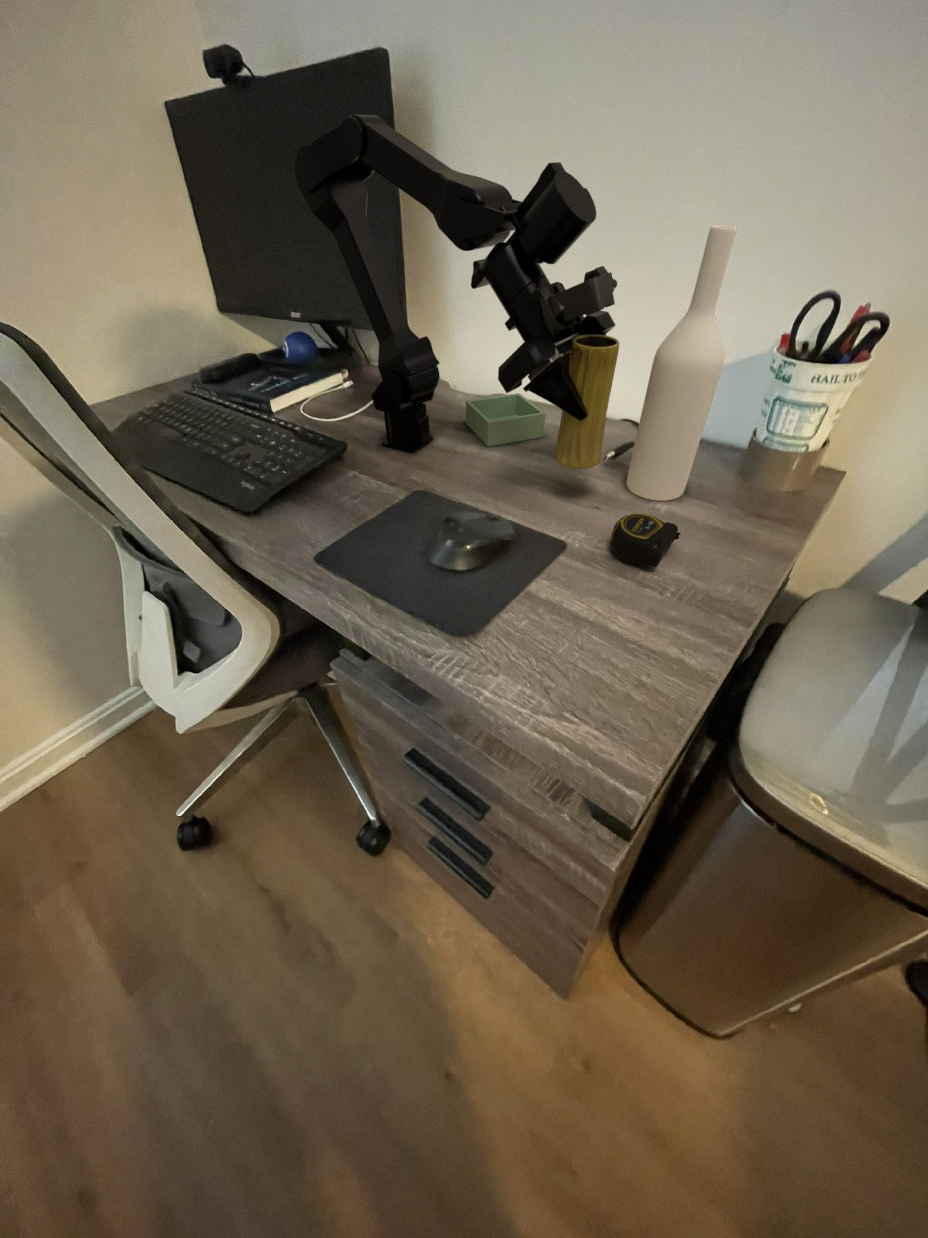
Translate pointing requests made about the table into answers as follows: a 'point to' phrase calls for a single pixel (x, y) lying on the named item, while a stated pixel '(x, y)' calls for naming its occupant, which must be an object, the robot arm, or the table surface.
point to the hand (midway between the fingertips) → (595, 411)
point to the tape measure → (643, 538)
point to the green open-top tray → (505, 419)
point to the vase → (588, 401)
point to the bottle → (682, 384)
